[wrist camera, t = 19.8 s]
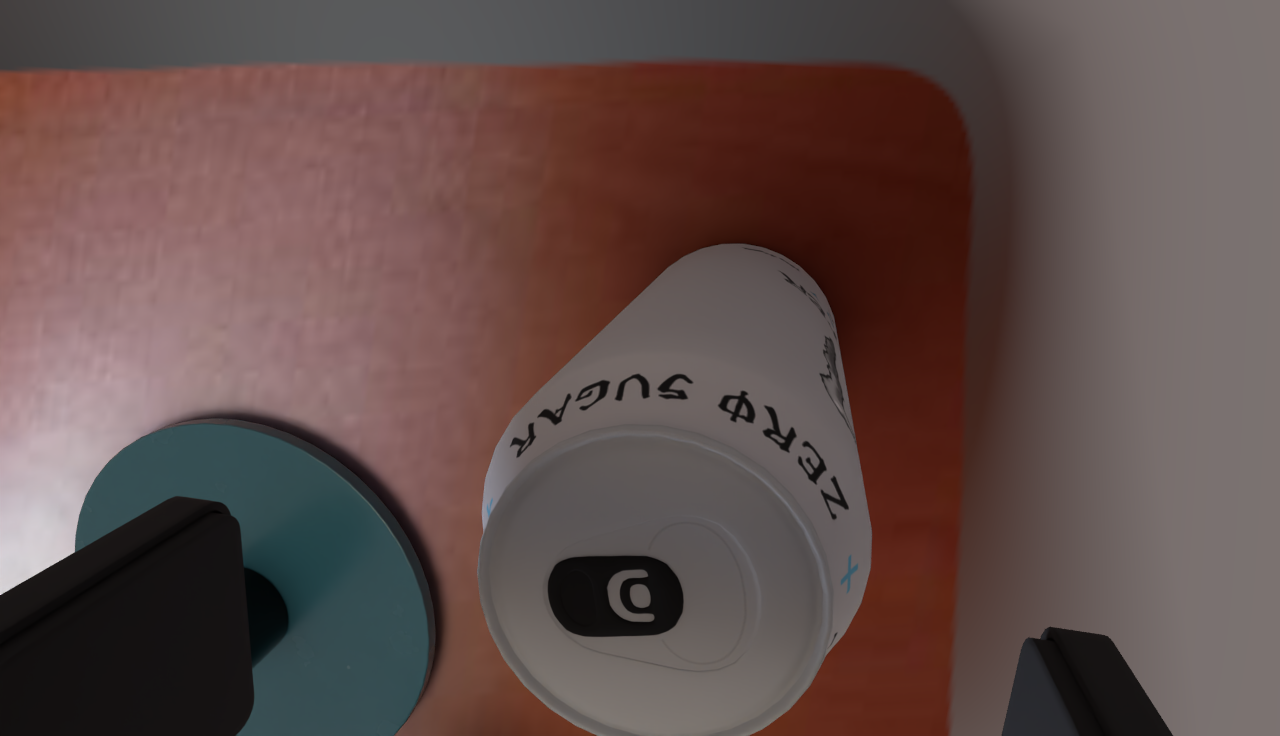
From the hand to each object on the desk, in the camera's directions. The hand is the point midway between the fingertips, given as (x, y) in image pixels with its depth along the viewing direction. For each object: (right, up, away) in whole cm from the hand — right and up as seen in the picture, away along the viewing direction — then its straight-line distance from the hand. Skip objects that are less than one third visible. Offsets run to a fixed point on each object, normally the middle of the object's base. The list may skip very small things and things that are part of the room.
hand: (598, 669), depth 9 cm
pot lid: (-14, -5, +21) cm, 26 cm away
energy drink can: (+3, +5, +16) cm, 17 cm away
